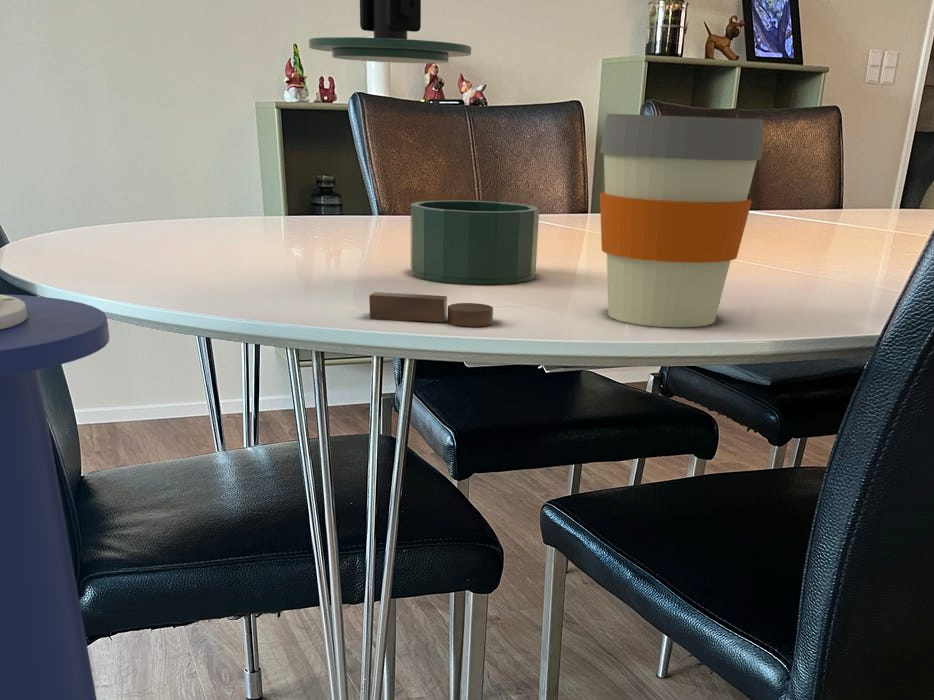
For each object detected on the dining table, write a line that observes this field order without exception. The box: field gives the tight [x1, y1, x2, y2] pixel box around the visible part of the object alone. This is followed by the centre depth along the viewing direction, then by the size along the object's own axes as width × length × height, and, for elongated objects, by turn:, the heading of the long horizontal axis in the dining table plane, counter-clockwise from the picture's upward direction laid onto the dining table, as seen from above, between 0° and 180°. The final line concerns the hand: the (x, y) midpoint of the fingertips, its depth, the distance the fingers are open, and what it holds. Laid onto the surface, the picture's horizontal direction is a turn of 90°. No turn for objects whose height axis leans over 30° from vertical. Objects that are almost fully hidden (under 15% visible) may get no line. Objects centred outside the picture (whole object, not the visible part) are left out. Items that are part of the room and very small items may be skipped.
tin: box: [410, 199, 540, 286], centre depth 100 cm, size 13×13×6 cm
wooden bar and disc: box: [368, 291, 494, 328], centre depth 79 cm, size 10×4×2 cm, turn 82°
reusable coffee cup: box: [599, 113, 764, 328], centre depth 80 cm, size 13×12×15 cm
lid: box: [308, 0, 472, 64], centre depth 83 cm, size 14×14×7 cm
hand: (390, 28), depth 83 cm, fingers closed on lid, 2 cm apart
